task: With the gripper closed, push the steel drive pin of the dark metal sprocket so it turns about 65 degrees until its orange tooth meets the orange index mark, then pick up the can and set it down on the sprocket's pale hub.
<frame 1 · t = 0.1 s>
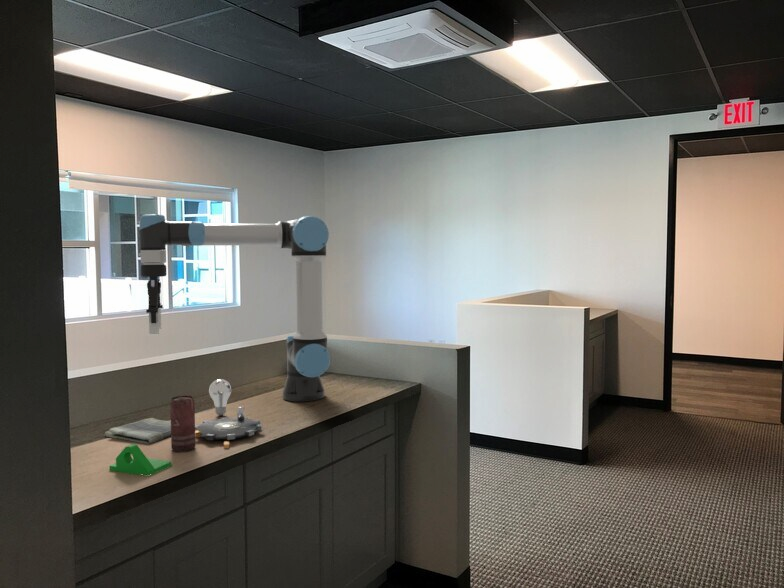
hand: (155, 331, 196), 28 cm above the worktop, fingers open, 13 cm apart
bracket: (140, 470, 152), on the worktop
sprocket: (227, 421, 179), point 4 cm above the worktop, hinge at 0.0°
sprocket base: (228, 434, 180), on the worktop
light bulb: (220, 416, 200), on the worktop
can: (184, 449, 166), on the worktop
index mark: (226, 446, 168), on the worktop
dish towel: (148, 434, 182), on the worktop
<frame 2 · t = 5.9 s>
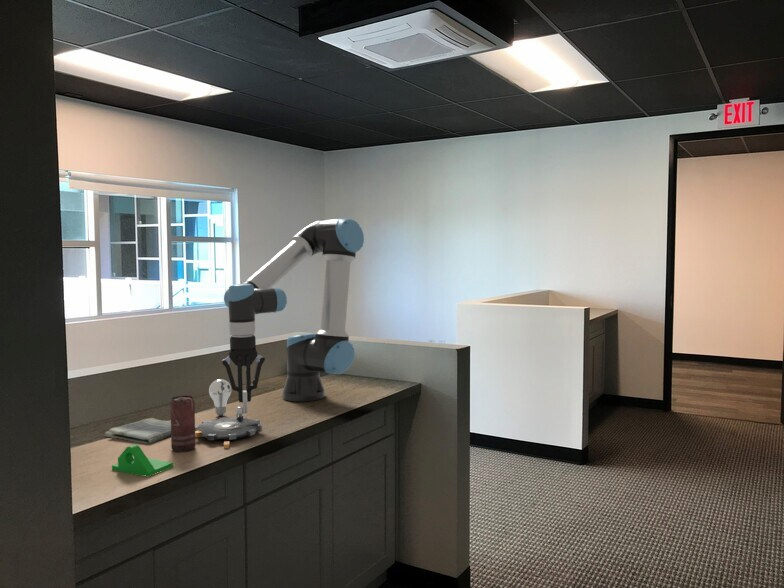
hand: (245, 412, 188), 4 cm above the worktop, fingers closed
sprocket: (227, 421, 179), point 4 cm above the worktop, hinge at 2.5°, touching gripper
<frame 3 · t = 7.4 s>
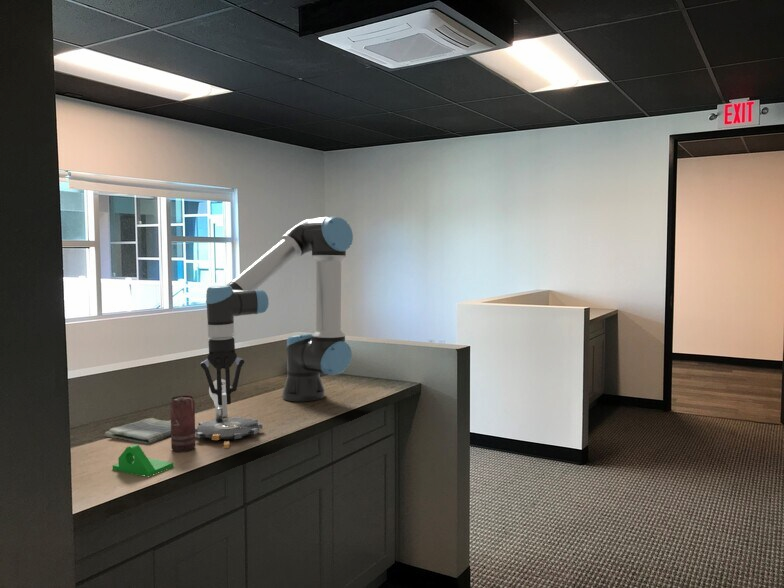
hand: (224, 415, 187), 4 cm above the worktop, fingers closed
sprocket: (227, 421, 179), point 4 cm above the worktop, hinge at 47.1°, touching gripper
everything else where it was.
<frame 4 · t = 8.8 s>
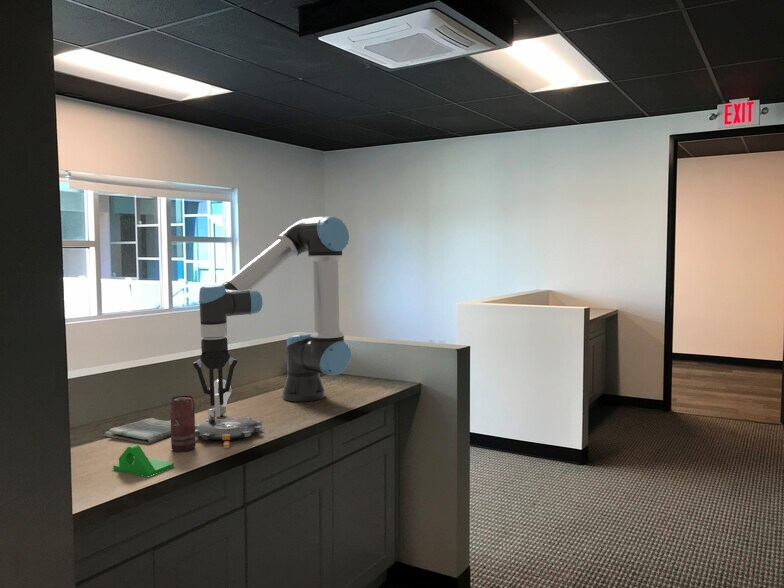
hand: (217, 415, 185), 4 cm above the worktop, fingers closed
sprocket: (227, 421, 179), point 4 cm above the worktop, hinge at 64.1°, touching gripper
everything else where it was.
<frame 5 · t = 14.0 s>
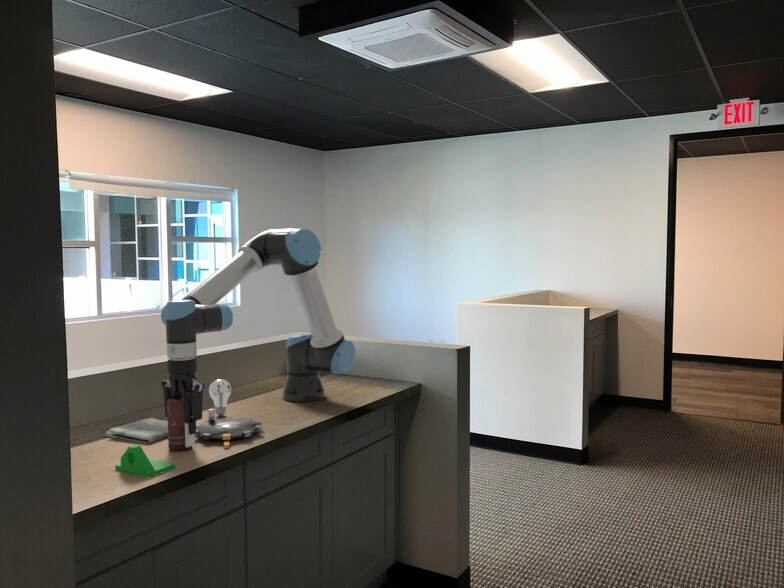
hand: (184, 444, 166), 1 cm above the worktop, fingers open, 3 cm apart
sprocket: (227, 421, 179), point 4 cm above the worktop, hinge at 64.7°
can: (181, 449, 167), on the worktop, touching gripper, hand
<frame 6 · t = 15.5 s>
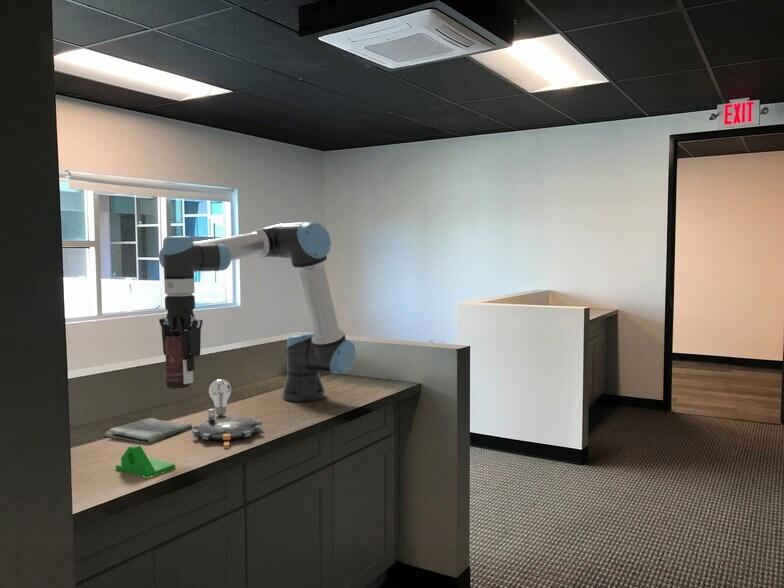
hand: (182, 382, 165), 18 cm above the worktop
can: (179, 387, 166), point 17 cm above the worktop, touching gripper, hand
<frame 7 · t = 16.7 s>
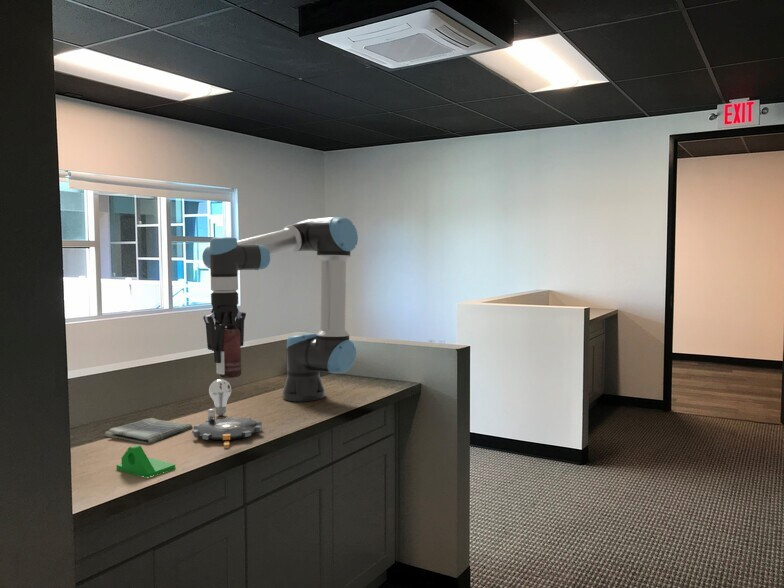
hand: (226, 372, 178), 18 cm above the worktop
can: (230, 376, 180), point 17 cm above the worktop, touching gripper, hand
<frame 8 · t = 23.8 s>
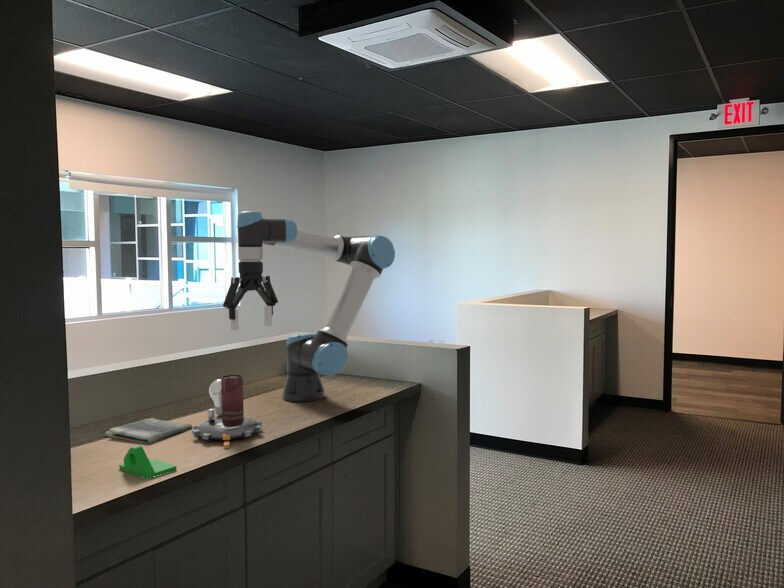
hand: (252, 328, 197), 29 cm above the worktop, fingers open, 13 cm apart
sprocket: (227, 421, 179), point 4 cm above the worktop, hinge at 64.7°, touching can
can: (232, 424, 181), point 3 cm above the worktop, touching sprocket
at the end: sprocket at +65° (first picture: +0°); can 1.8 cm from the sprocket (horizontally); can tilted 0° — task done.
